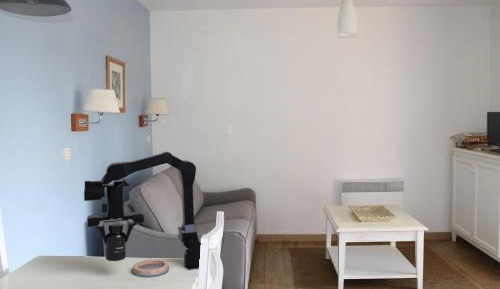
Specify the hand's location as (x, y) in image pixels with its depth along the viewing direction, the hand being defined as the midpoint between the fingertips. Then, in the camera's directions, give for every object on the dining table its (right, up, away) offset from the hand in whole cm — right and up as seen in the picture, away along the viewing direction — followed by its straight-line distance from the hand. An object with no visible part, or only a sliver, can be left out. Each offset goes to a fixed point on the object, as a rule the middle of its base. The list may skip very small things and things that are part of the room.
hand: (116, 243), depth 152 cm
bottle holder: (+11, -11, +5) cm, 17 cm away
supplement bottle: (0, -6, 0) cm, 6 cm away
